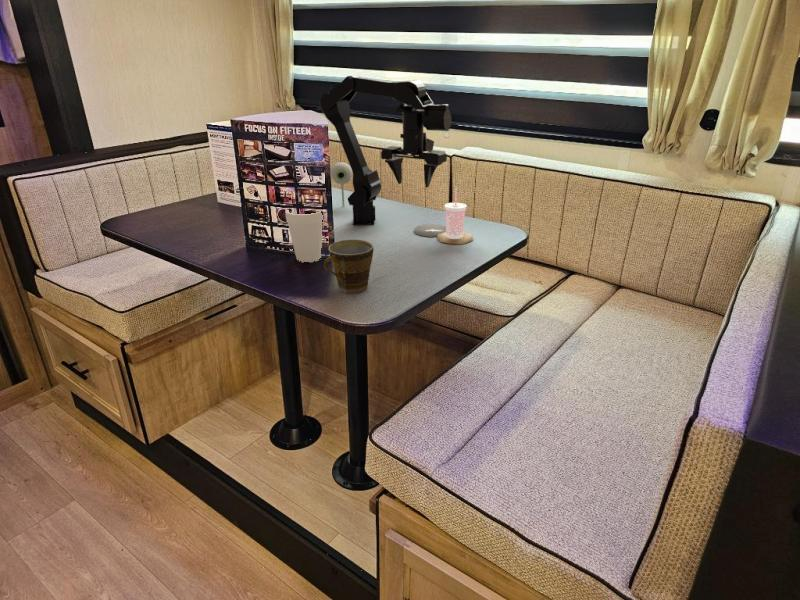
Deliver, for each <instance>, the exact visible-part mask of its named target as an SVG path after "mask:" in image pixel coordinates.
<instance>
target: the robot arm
mask: <svg viewBox="0 0 800 600" xmlns="http://www.w3.org/2000/svg"><path fill="white" fill-rule="evenodd" d="M357 92H359V93H363V94H371V95H378V96H382V97H383V96H384V97H388V98H391V99H393V100H394V101H397V102H400V104H399V105H398V107H397V108H396V109H394V111H395V113H402V133H400V136H399V137H400V139H402V146H387V147H384V148H383V147H382V150H381V151H380V159H381V160H384V162H385V163H387V165H388V166H389V168H390V170H391V171H392V173H393V176H394V179H396V180H395V181H397V184H398V185H401V184H402V182H403V181H402V179H403V177H402V175H403V173H402V171H403V170H402V169H403V168H402V163H403V160H404V158H406V159H413V160H414V159H415V160H424V162H425V164H423V174H424V185H425V188H429V187H430V184H431V181H432V179H433V176H434V174H435V171H436V169H437V167H438V166H441V165H442V164H443V163H446V162H447V161H448V159H447V158H448V156H447V153H446V151H445V150H436V149H435V150H434V144H435V141H434V140H432V139H429V138H428V137H427V133H426V132H425V131H424V128H425V130H427V131H438V132H449V130H450V129H451V125H452V115H451V111H450V109H449V105H450V104H447V103H445V104H444V103H443V104H434V101H433V100H432V99H431V97H430V96H429V94H428V93H427V88H426V85H425V84H424V82H423V81H422V80H418V79H414V80H401V81H400V80H399V81H391V80H385V79H377V78H371V77H364V76H360V75H355V74H354V75H347V76H346V77H345V78H343V80H342V81H341V82H340V83H339V84H337V85H336V86H335V87H333V88H332V89H331V90H330V91H329V92H326V93H324V94H323V95H321V97H320V100H319V107H320V109H321V111H322V113H323V115H324V117H325V118H326V119H327V120H328V121H329V123H331V125H333V126H334V128H335V131H336V133H337V136H338V138H339V141H340V144H341V146H342V148H343V151H344V153H345V157H346V158H347V161H348V165H349V166H350V167H351V169H352V187H353V192H352V193H351V194H349V196H348V197H347V202H348V204H349V206H352V220H353V221H352V225H354V226H358V225H359V226H361V225H362V226H364V225H374V224H375V222H376V221H377V218H376V206H375V205H374V201H376V200H377V196H378V195H379V194H380V192H381V190H382V185H381V184H382V182H383V181H382V180H381V178H380V177H379V173H378V170H377V169H376V170H372V169H371V168H370V167H369V166H368V164H367V161H366V158H365V156H364V153H363V151H362V148H361V146H360V143H359V141H358V138H357V135H356V133H355V130H354V127H353V125H352V123H351V108H350V102H351V101H352V99H354V97H355V95H356V94H357Z"/></svg>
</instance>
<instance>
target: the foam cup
mask: <svg viewBox="0 0 800 600" xmlns="http://www.w3.org/2000/svg"><path fill="white" fill-rule="evenodd" d="M284 212H285V220H286V222H287V224H288V225H287V226H288V228H289V233H290V238H291V240H292V241H291V242H292V246H293V250H294V254H295V257H296V260H297V261H298V260H299V261H298V262H300V261H301V262H300V263H304V262H309V263H314V261H315V262H318V261H320V260H321V259H320V258H322V254H321V248H322V249H323V236H322V220H323V221H324V219H323V215H322V213H321V211H319V212H316V213H311V214H292V213H289V210H286V209H285V211H284ZM319 259H320V260H319Z"/></svg>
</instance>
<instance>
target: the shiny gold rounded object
mask: <svg viewBox="0 0 800 600" xmlns="http://www.w3.org/2000/svg"><path fill="white" fill-rule="evenodd" d="M436 239H437V241H438V240H439V242H440V243H442V242H443V244H446V243H447V244H448V245H464V244H468V242H469V243H471V242H472V241H473V235H472V234H471V233H469V232H466V231H463V237H462V238H460V239H450V238H447V237H446V232H443V233H442V234H441V233H440V234H438V235H437V237H436ZM470 241H471V242H470ZM447 244H446V245H447Z"/></svg>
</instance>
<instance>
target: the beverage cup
mask: <svg viewBox="0 0 800 600" xmlns="http://www.w3.org/2000/svg"><path fill="white" fill-rule="evenodd" d="M457 198H458V187H457V186H455V187H454V202H448V203H445V204H444V211H445V227H446V237H447V238H450V239H460V238H462V237H463V232H464V227H465V226H464V225H465V218H466V210H467V204H466V203H463V202H457V201H458V200H457Z"/></svg>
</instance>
